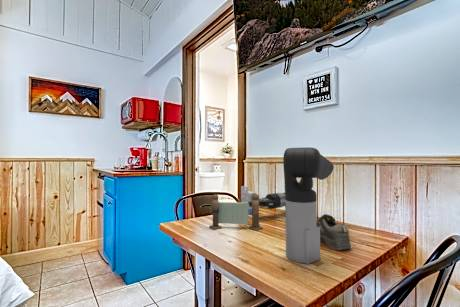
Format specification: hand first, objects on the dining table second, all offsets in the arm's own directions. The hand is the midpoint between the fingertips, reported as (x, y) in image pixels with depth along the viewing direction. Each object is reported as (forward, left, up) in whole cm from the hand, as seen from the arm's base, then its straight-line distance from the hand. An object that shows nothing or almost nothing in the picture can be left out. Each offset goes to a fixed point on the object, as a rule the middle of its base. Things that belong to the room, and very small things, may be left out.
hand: (250, 204), depth 121 cm
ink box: (+15, -11, -8) cm, 20 cm away
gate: (-3, +13, -7) cm, 15 cm away
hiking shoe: (-39, -4, -8) cm, 40 cm away
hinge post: (-11, +6, -8) cm, 15 cm away
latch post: (0, +19, -8) cm, 21 cm away
